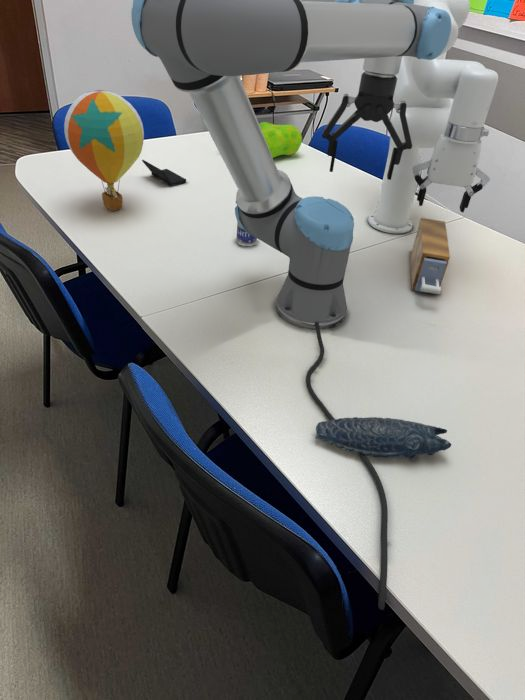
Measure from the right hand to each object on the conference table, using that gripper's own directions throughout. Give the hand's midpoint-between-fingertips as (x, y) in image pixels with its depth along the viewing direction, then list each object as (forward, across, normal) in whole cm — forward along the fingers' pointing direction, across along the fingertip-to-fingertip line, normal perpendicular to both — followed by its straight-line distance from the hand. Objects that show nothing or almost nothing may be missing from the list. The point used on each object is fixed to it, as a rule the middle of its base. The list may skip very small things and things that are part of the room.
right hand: (440, 207), depth 124 cm
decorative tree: (+14, +57, -64) cm, 87 cm away
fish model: (+16, +9, +65) cm, 68 cm away
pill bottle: (+15, +46, +4) cm, 49 cm away
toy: (+15, +86, -2) cm, 87 cm away
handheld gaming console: (+15, +80, -27) cm, 86 cm away
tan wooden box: (+16, 0, +4) cm, 16 cm away
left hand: (-5, +20, +1) cm, 21 cm away
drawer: (+15, 0, +9) cm, 17 cm away
